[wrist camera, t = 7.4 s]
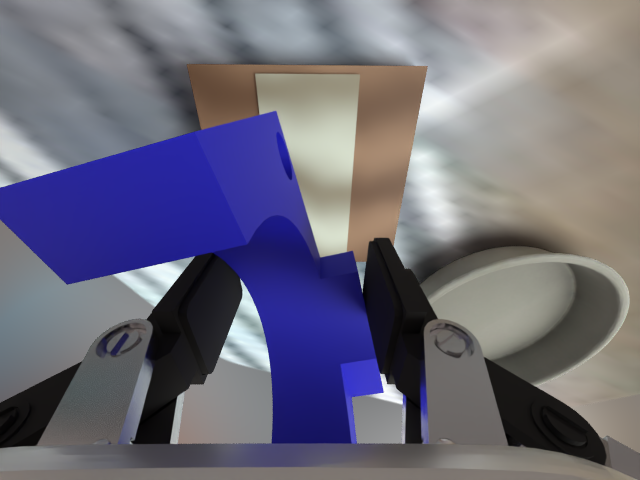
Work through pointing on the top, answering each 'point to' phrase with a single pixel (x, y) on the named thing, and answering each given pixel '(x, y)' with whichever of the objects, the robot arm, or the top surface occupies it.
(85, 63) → the top surface
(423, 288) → the cake pan
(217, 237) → the blue curved stepped block
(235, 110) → the mounting board
